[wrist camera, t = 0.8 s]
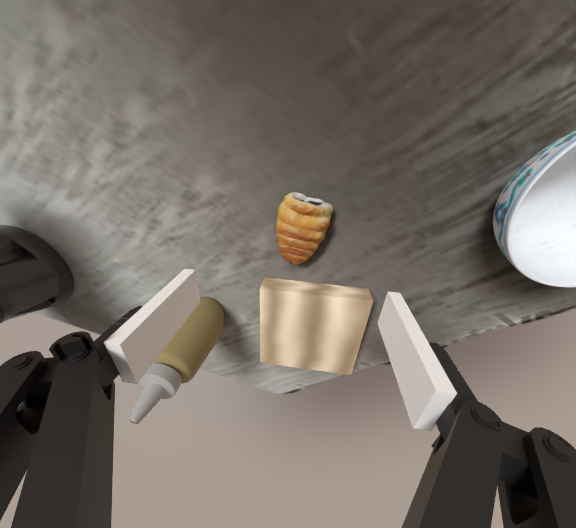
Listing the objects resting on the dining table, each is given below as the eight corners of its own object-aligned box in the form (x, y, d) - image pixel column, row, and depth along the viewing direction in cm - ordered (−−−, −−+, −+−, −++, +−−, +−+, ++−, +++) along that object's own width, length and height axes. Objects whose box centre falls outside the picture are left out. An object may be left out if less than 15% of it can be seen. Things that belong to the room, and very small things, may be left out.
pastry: (315, 263, 32) (314, 277, 29) (270, 252, 32) (265, 264, 29) (335, 200, 28) (337, 208, 24) (283, 187, 28) (278, 193, 25)
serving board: (263, 348, 42) (260, 362, 39) (264, 277, 34) (259, 288, 32) (348, 360, 40) (351, 375, 38) (368, 288, 33) (373, 301, 30)
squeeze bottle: (181, 314, 40) (92, 422, 24) (193, 282, 36) (98, 386, 21) (221, 333, 41) (162, 448, 25) (237, 304, 37) (179, 419, 22)
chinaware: (440, 177, 25) (486, 188, 18) (616, 73, 20) (774, 34, 13) (481, 273, 30) (529, 310, 23) (631, 211, 24) (752, 235, 18)
